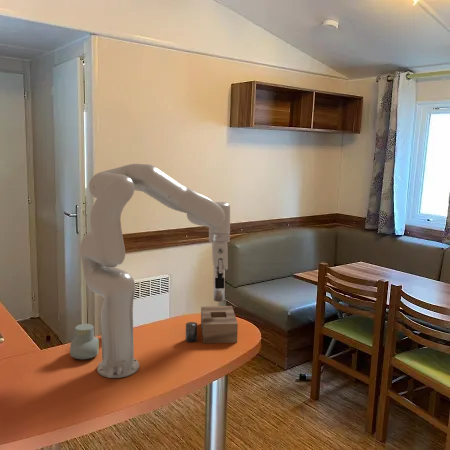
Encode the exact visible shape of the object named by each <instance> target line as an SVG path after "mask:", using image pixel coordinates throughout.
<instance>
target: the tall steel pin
mask: <svg viewBox="0 0 450 450" xmlns="http://www.w3.org/2000/svg"><path fill="white" fill-rule="evenodd" d="M217 269H219V268H217ZM218 272H219V271H218ZM225 273H226V269H225V268H224V288H221V289H216V288H215V277H216V270H215V269H214V268H213V301H214V302H218V303H220V302H224V301H225V299H226V298H225V295H226V294H225V292H226V291H225V285H226V281H225V280H226V279H225V278H226V277H225V276H226V274H225Z"/></svg>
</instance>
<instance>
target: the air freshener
mask: <svg viewBox="0 0 450 450" xmlns="http://www.w3.org/2000/svg"><path fill="white" fill-rule="evenodd" d="M94 329H95V328H94V325H93V324H91V323H81V324H78V325H76V326H75V327H74V338H72V340H71V341H70V347H69V354H70V357H72V358H73V359H77V360H88V359H92V358H94V357H96V356H97V355H99V351H100V350H99V348H100V339H99V338H98V337H97V336H95V333H94V332H95V331H94Z"/></svg>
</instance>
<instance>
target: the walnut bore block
mask: <svg viewBox="0 0 450 450" xmlns="http://www.w3.org/2000/svg"><path fill="white" fill-rule="evenodd" d="M200 325H201V326H200V327H201V336H202V344H224V343H230V344H231V343H238V320H237V317H236V314H235V311H234V308H233V305H217V306H215V305H213V306H211V305H210V306H205V305H204V306H200Z"/></svg>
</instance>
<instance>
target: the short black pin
mask: <svg viewBox="0 0 450 450" xmlns="http://www.w3.org/2000/svg"><path fill="white" fill-rule="evenodd" d="M185 341H186V342H187V343H190V344H191V343H196V342H197V341H198V323H197V322H196V321H195V322H194V321H190V322H187V323H185Z"/></svg>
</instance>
